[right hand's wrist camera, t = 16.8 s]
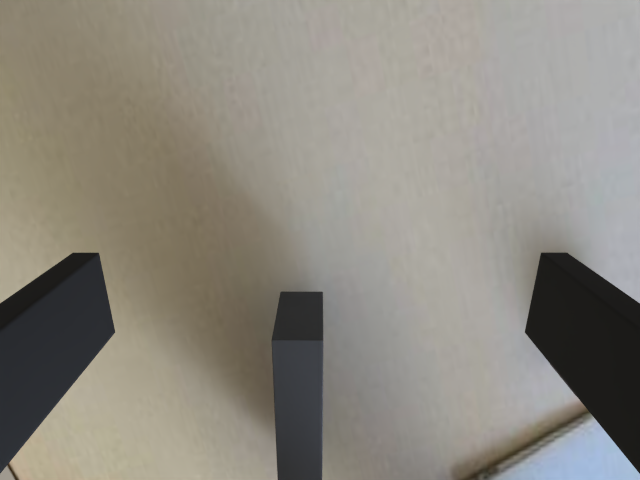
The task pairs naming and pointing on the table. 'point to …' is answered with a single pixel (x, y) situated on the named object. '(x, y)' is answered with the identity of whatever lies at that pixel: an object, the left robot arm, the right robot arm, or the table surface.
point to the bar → (298, 385)
